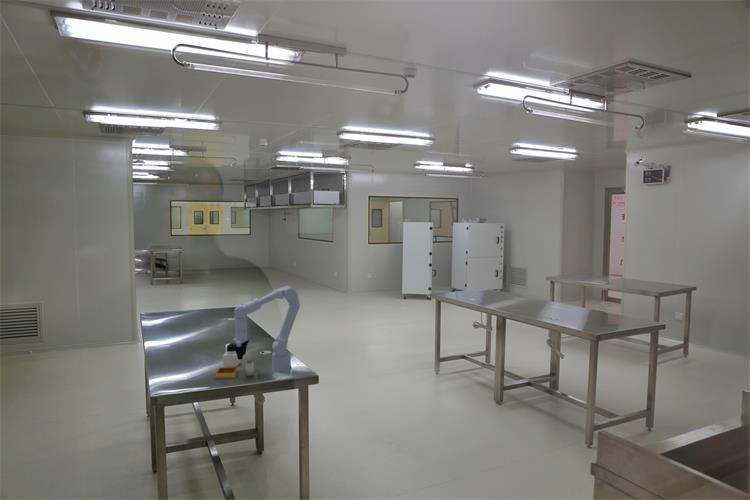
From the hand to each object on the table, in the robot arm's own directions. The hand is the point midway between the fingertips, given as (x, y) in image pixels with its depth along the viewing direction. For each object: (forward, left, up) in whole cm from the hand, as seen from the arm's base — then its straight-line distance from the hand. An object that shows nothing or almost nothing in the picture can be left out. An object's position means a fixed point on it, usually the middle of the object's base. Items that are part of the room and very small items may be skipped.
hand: (241, 357), depth 240 cm
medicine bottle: (+8, -16, -10) cm, 20 cm away
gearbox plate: (+2, +2, -10) cm, 10 cm away
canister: (-4, +2, -9) cm, 10 cm away
